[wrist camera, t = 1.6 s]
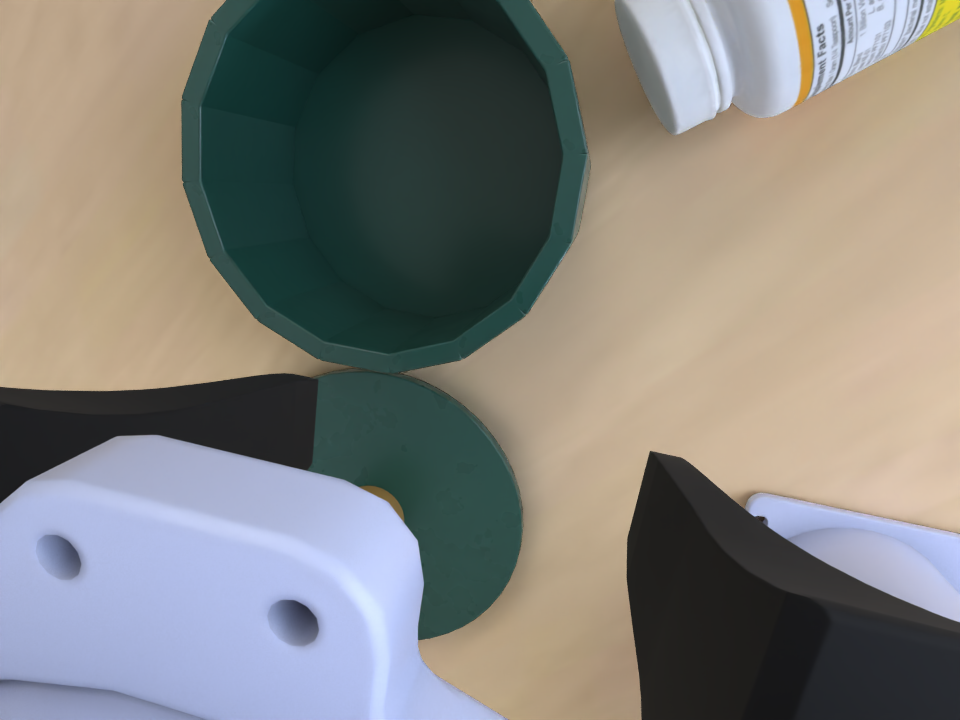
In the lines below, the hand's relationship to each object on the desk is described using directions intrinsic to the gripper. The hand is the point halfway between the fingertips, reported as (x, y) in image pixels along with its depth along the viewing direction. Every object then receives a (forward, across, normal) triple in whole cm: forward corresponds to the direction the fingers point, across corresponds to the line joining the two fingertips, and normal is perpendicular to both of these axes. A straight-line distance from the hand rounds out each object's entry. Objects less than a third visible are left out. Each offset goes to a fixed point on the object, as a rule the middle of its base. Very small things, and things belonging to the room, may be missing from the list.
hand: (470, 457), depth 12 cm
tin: (+10, +4, -5) cm, 12 cm away
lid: (+9, +5, +8) cm, 13 cm away
